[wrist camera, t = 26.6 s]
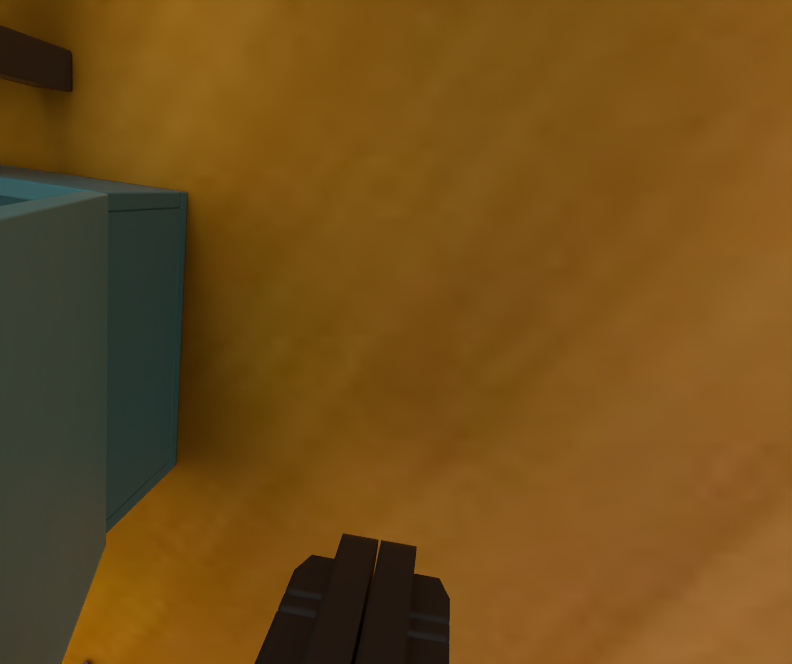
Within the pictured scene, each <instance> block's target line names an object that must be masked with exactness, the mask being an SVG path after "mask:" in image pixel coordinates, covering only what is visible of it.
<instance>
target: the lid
mask: <svg viewBox="0 0 792 664" xmlns="http://www.w3.org/2000/svg"><path fill="white" fill-rule="evenodd" d="M107 313H108V194H104V193H96V192H88V191H82V192H77V193H71V194H65V195H60V196H54V197H48V198H43V199H37V200H32V201H26V202H20V203H15V204H9V205H3V206H0V664H61V663H62V660H63V658H64V655H65V652H66V650H67V647H68V644H69V642H70V639H71V636H72V634H73V631H74V628H75V626H76V623H77V620H78V618H79V615H80V612H81V610H82V607H83V604H84V601H85V599H86V596H87V593H88V591H89V588H90V585H91V583H92V580H93V577H94V575H95V572H96V569H97V567H98V564H99V561H100V559H101V556H102V553H103V551H104V548H105V545H106V441H107Z"/></svg>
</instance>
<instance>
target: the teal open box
mask: <svg viewBox="0 0 792 664" xmlns="http://www.w3.org/2000/svg"><path fill="white" fill-rule="evenodd" d="M82 191H88V192H96V193H104V194H108V313H107V441H106V533H107V532H108V531H109V530H110V529H111V528H112V527H113V526H114V525H115V524H116V523H117V522H118V521H119V520H120V519H121V518H122V517H123V516H124V515H125V514H126V513H128V512H129V511H130V510H131V509H132V508H133V507H134V506H135V505H136V504H137V503H138V502H139V501H140V500H141V499H142V498H143V497H144V496H145V495H146V494H147V493H148V492H149V491H150V490H151V489H152V488H153V487H154V486H155V485H156V484H157V483H158V482H159V481H160V480H161V479H162V478H163V477H164V476H165V475H166V474H167V473H168V472H169V471H170V470H171V469H172V468H173V467H174V466H175V465H176V447H177V424H178V400H179V377H180V353H181V330H182V307H183V283H184V260H185V236H186V213H187V192H183V191H176V190H170V189H163V188H156V187H149V186H143V185H136V184H129V183H122V182H115V181H109V180H102V179H95V178H88V177H82V176H75V175H68V174H61V173H55V172H48V171H41V170H34V169H28V168H21V167H14V166H7V165H1V164H0V206H3V205H9V204H15V203H20V202H26V201H32V200H37V199H43V198H48V197H54V196H60V195H65V194H71V193H77V192H82Z"/></svg>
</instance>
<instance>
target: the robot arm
mask: <svg viewBox="0 0 792 664" xmlns="http://www.w3.org/2000/svg"><path fill="white" fill-rule="evenodd" d="M377 548H378V540H377V539H372V538H366V537H361V536H355V535H350V534H344V533H343V535H342V538H341V541H340V544H339V547H338V550H337V553H336V556H335V559H332V558H327V557H321V556H316V555H311V556H310V557H309V558H308V559H307V560H305V561H304V562H303V563H302V564H301V565H300V566H298V567H297V568H296V569H295V570H294V572H293V574H292V577H291V579H290V581H289V584H288V586H287V589H286V592H285V594H284V596H283V598H282V600H281V603H280V605H279V608H278V611H277V612H276V614H275V617H274V619H273V621H272V624H271V626H270V629H269V631H268V633H267V636H266V638H265V640H264V643H263V645H262V647H261V650H260V652H259V654H258V657H257V659H256V661H255V664H449V621H450V598H449V597H448V595H447V593H446V591H445V589H444V587H443V585H442V583H441V581H440V579H439V578H435V577H430V576H424V575H419V574H414V567H415V558H416V548H417V547H416V546H411V545H405V544H400V543H394V542H389V541H383V540H381V544H380V549H379V554H378V558H377V563H376V568H375V562H376V555H377ZM374 569H375V573H374ZM373 575H374V577H373Z"/></svg>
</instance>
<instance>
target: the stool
mask: <svg viewBox="0 0 792 664" xmlns="http://www.w3.org/2000/svg"><path fill="white" fill-rule="evenodd" d="M0 78H1V79H5V80H9V81H13V82H17V83H21V84H25V85H29V86H33V87H38V88H45V89H52V90H60V91H67V92H70V91H71V51H69V50H67V49H64V48H62V47H59V46H56V45H53V44H51V43H48V42H45V41H42V40H40V39H37V38H34V37H32V36H29V35H26V34H23V33H21V32H18V31H15V30H12V29H10V28H7V27H4V26H1V25H0Z"/></svg>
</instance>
